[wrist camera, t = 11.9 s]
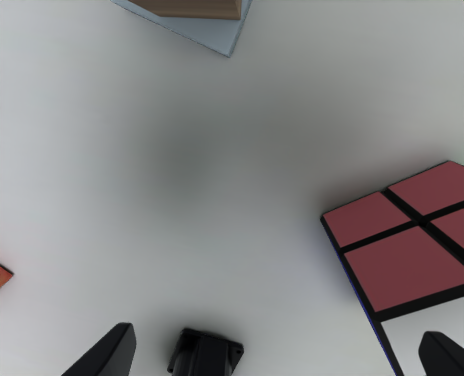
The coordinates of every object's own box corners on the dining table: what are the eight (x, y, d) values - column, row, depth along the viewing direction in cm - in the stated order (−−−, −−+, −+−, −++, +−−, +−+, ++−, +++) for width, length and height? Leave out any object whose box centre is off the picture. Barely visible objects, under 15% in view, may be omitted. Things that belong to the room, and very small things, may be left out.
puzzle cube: (317, 214, 21) (370, 320, 12) (452, 157, 19) (645, 233, 10) (359, 301, 24) (427, 438, 15) (479, 261, 22) (644, 393, 13)
